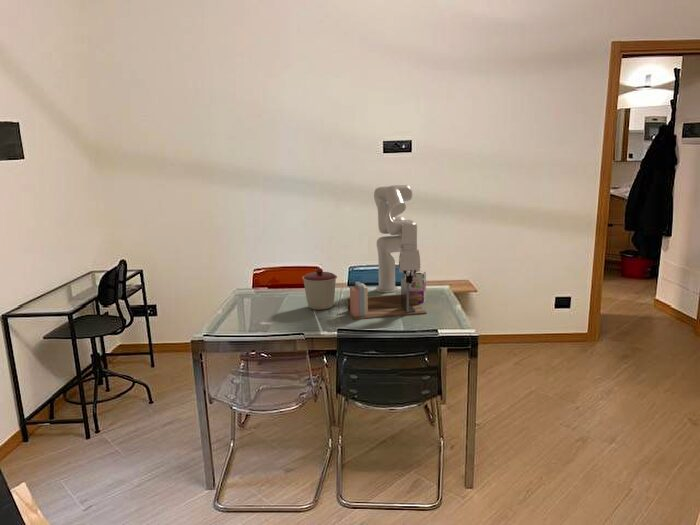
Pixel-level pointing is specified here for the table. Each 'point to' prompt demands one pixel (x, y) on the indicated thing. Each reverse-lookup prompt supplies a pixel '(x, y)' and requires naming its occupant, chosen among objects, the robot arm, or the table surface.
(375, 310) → the shelf
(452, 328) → the table surface
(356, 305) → the books
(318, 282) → the canister
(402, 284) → the bookend
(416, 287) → the candy bar box
